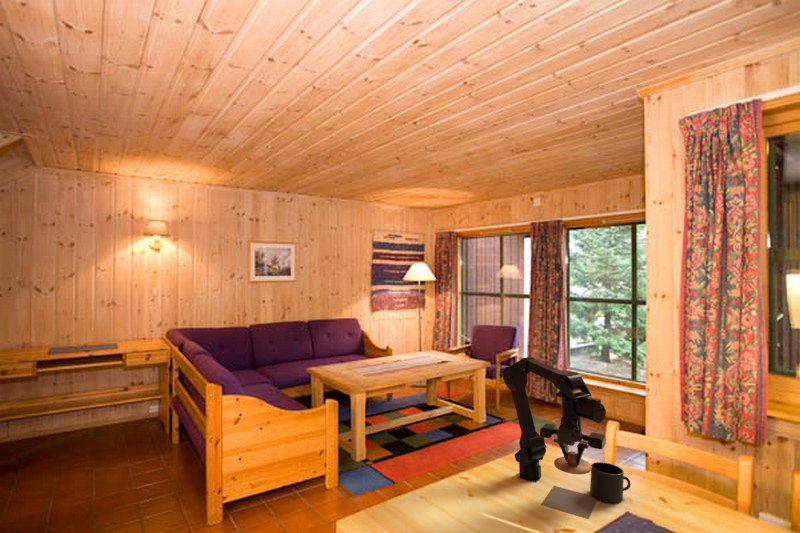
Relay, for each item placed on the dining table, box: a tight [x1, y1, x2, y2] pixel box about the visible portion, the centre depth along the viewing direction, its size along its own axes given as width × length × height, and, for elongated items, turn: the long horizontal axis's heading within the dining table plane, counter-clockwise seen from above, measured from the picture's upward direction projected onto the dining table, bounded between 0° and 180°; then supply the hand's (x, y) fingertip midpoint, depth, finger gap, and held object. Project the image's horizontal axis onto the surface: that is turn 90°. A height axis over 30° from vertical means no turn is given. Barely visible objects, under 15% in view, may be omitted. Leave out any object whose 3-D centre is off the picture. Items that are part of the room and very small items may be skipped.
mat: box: [540, 485, 598, 520], centre depth 137 cm, size 14×14×1 cm
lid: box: [553, 450, 592, 475], centre depth 138 cm, size 11×11×4 cm
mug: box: [589, 461, 632, 505], centre depth 140 cm, size 9×12×9 cm
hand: (572, 462), depth 138 cm, fingers closed on lid, 3 cm apart
